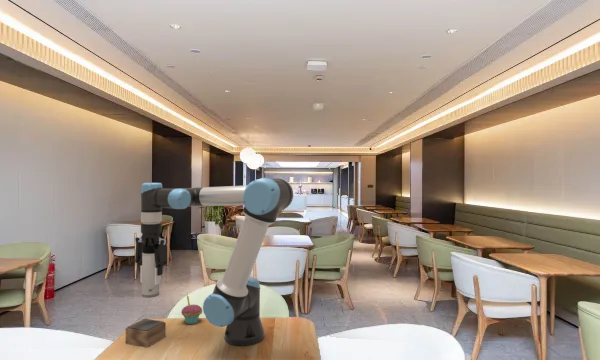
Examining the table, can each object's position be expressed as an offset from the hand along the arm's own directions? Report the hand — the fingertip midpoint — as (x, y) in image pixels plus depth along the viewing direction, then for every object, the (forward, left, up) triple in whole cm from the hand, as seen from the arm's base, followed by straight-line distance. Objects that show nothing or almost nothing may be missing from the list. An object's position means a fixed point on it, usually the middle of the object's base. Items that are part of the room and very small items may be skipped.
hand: (150, 282), depth 149 cm
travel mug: (0, 0, -5) cm, 5 cm away
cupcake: (-5, -20, -22) cm, 30 cm away
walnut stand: (0, +2, -21) cm, 21 cm away
